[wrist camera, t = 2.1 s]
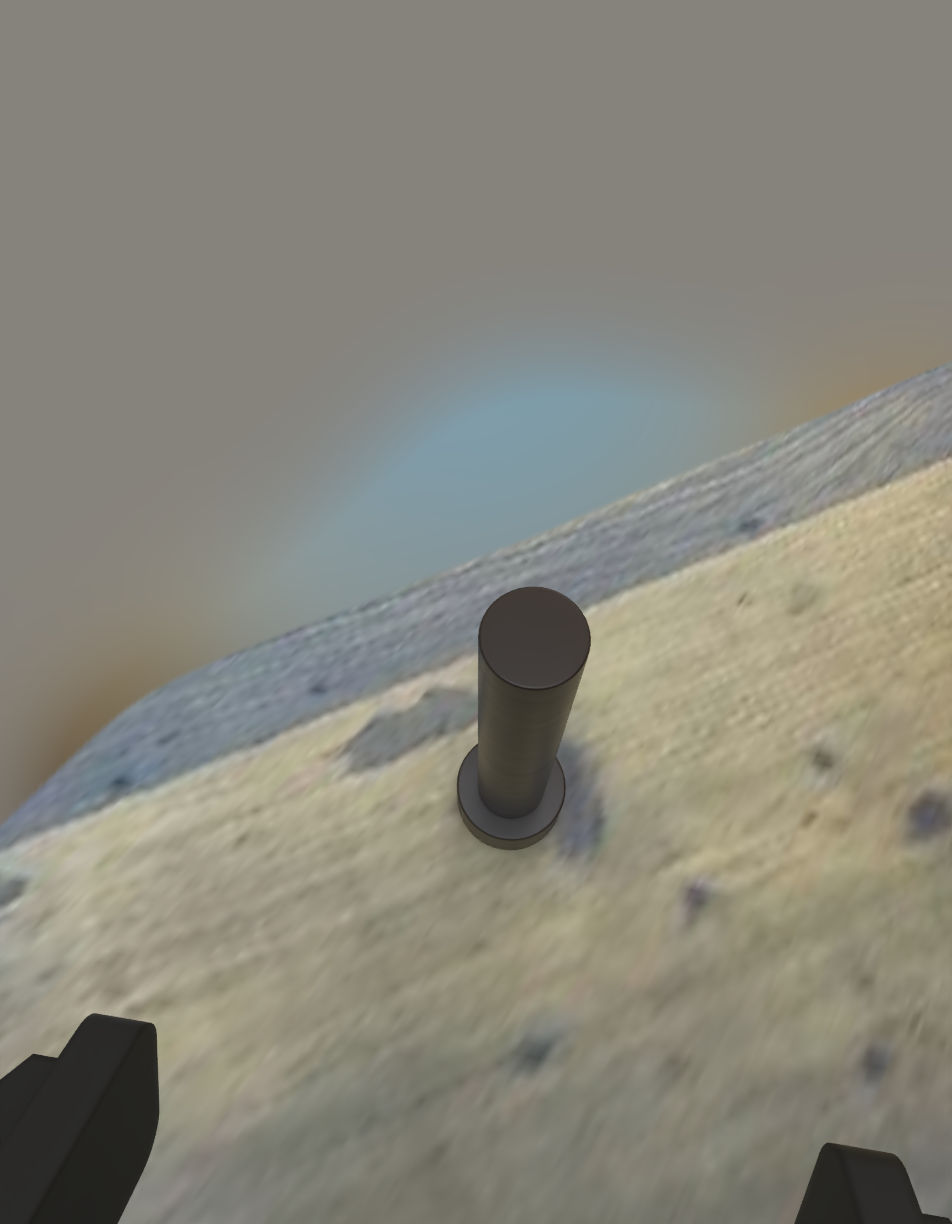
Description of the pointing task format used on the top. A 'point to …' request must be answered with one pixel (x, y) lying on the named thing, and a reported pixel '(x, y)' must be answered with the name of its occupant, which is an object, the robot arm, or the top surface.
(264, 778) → the top surface
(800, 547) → the top surface
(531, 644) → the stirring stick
